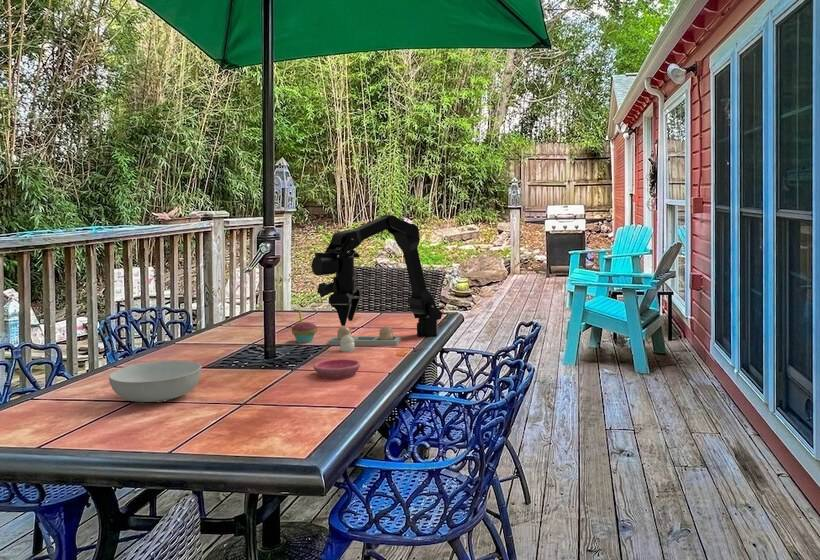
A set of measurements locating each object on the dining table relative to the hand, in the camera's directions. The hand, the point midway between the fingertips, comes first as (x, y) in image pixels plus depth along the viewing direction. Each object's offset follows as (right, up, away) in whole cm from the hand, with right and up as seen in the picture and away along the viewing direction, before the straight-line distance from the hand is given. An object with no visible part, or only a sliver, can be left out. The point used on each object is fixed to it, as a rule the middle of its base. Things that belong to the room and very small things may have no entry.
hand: (346, 323), depth 210 cm
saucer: (0, -12, -27) cm, 30 cm away
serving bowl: (-41, -15, -46) cm, 64 cm away
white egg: (0, -9, +1) cm, 9 cm away
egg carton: (+5, -8, +12) cm, 15 cm away
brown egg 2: (+12, -7, +11) cm, 18 cm away
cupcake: (-16, -8, +17) cm, 25 cm away
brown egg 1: (-2, -7, +13) cm, 15 cm away
